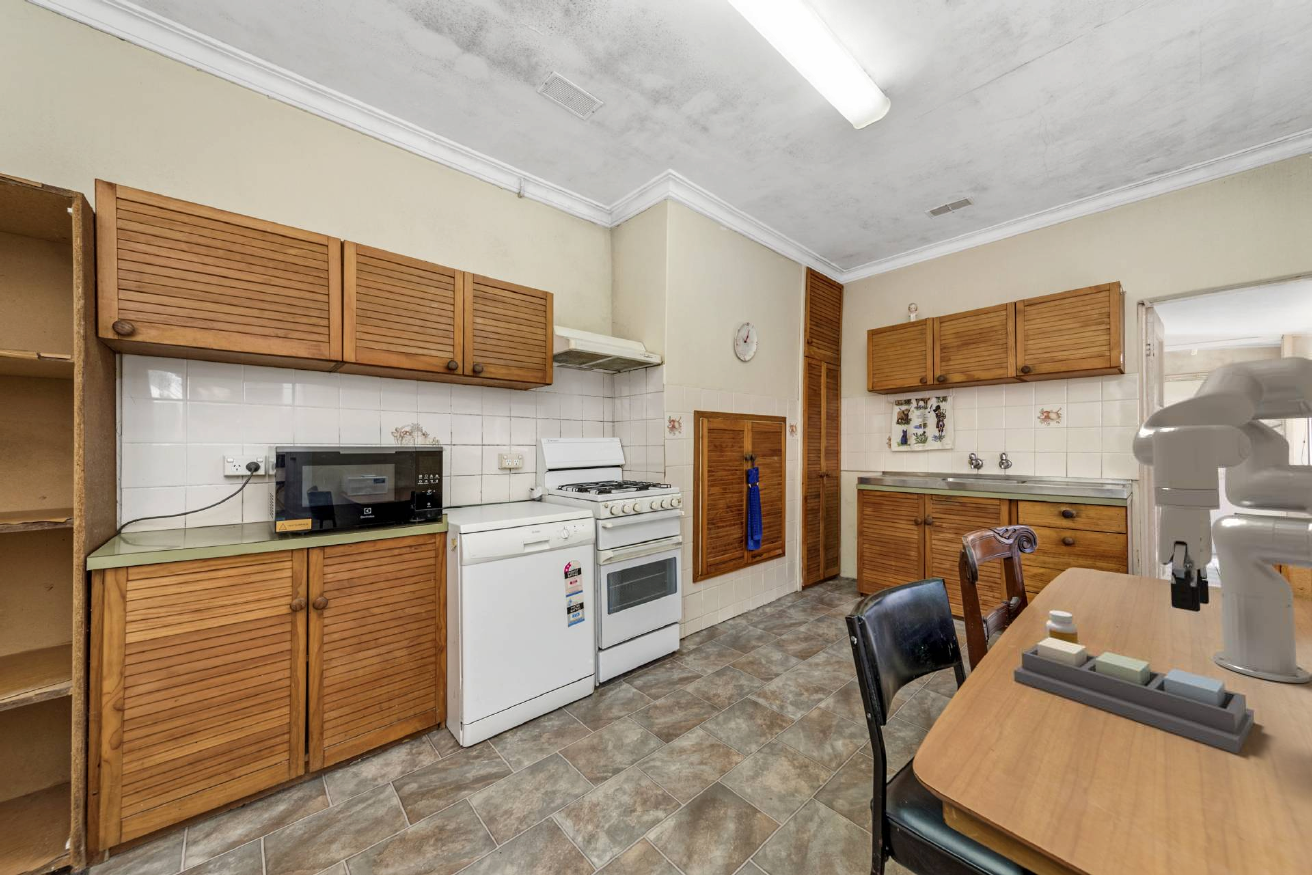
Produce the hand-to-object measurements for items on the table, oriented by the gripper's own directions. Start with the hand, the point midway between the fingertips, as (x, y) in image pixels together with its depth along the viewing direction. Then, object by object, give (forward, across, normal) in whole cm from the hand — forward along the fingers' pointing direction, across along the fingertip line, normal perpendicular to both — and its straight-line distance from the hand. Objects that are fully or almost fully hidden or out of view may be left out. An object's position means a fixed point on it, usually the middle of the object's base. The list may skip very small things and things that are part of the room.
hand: (1190, 604), depth 83 cm
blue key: (+16, 0, 0) cm, 16 cm away
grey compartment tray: (+20, 0, -9) cm, 22 cm away
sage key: (+16, 0, -9) cm, 18 cm away
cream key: (+16, 0, -18) cm, 24 cm away
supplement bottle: (+20, -13, -22) cm, 32 cm away
